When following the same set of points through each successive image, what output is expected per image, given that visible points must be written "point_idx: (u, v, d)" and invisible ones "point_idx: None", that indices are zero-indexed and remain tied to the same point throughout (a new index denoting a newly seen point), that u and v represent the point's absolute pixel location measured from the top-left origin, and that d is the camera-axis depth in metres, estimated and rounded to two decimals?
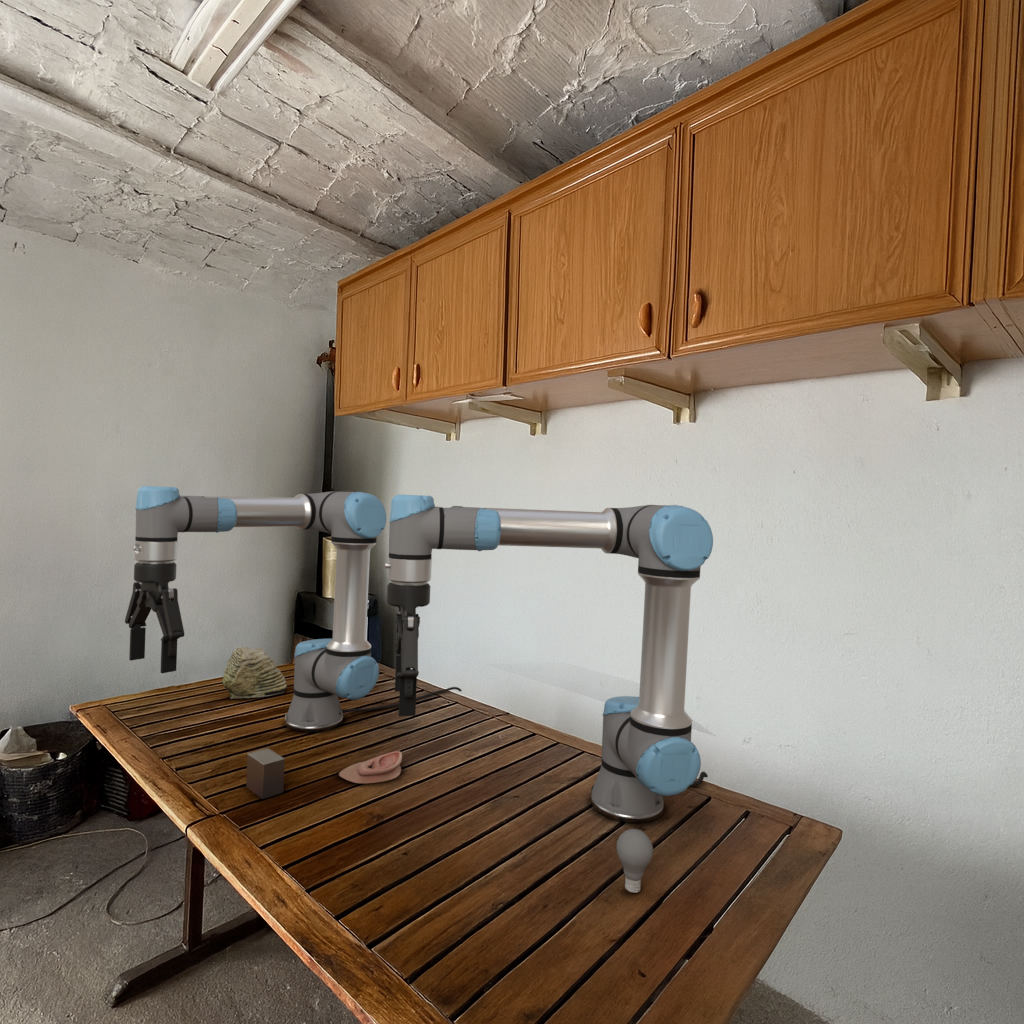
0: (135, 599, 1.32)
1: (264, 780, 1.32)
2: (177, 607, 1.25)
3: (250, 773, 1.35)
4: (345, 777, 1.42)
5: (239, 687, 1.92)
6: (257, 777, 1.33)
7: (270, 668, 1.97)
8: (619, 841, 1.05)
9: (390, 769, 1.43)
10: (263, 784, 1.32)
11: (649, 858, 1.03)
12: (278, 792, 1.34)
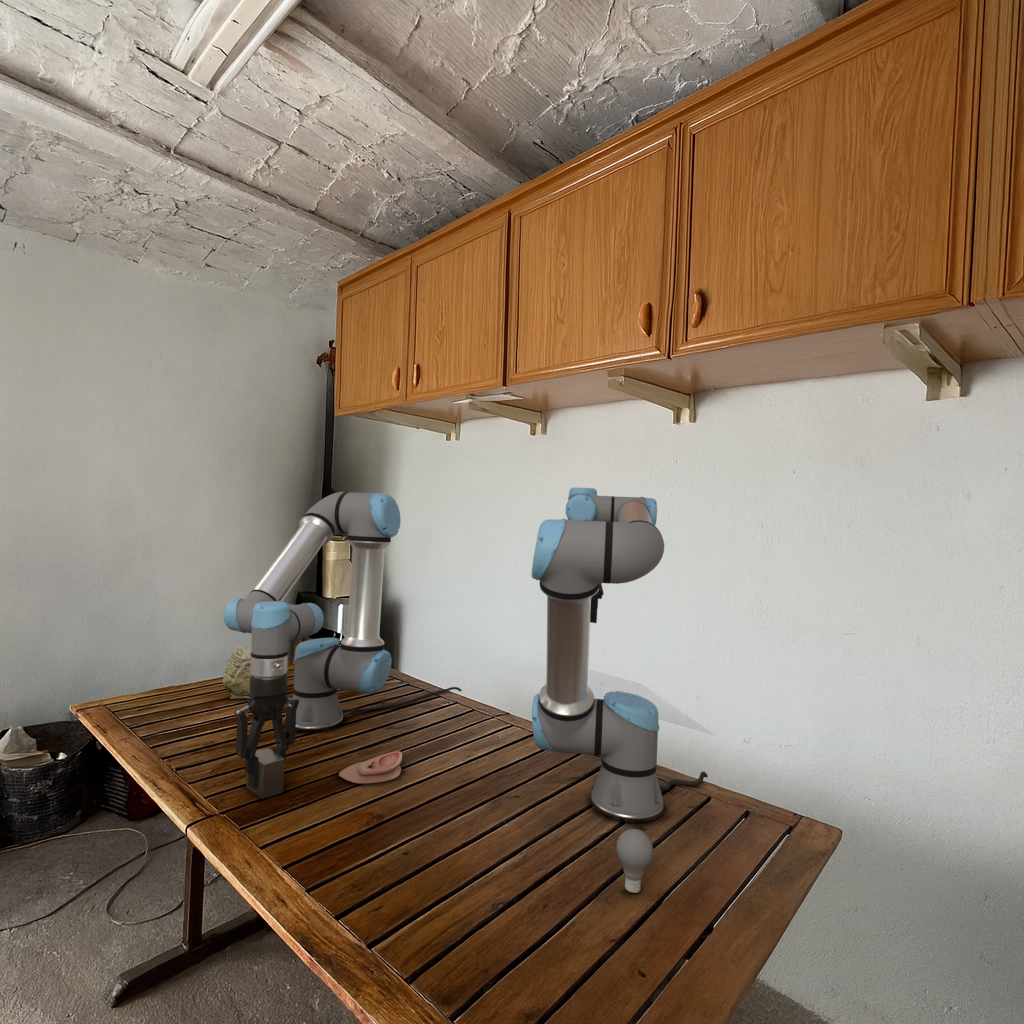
0: None
1: (264, 780, 1.32)
2: None
3: None
4: (345, 777, 1.42)
5: (239, 687, 1.92)
6: None
7: None
8: (619, 841, 1.05)
9: (390, 769, 1.43)
10: (263, 784, 1.32)
11: (649, 858, 1.03)
12: (278, 792, 1.34)
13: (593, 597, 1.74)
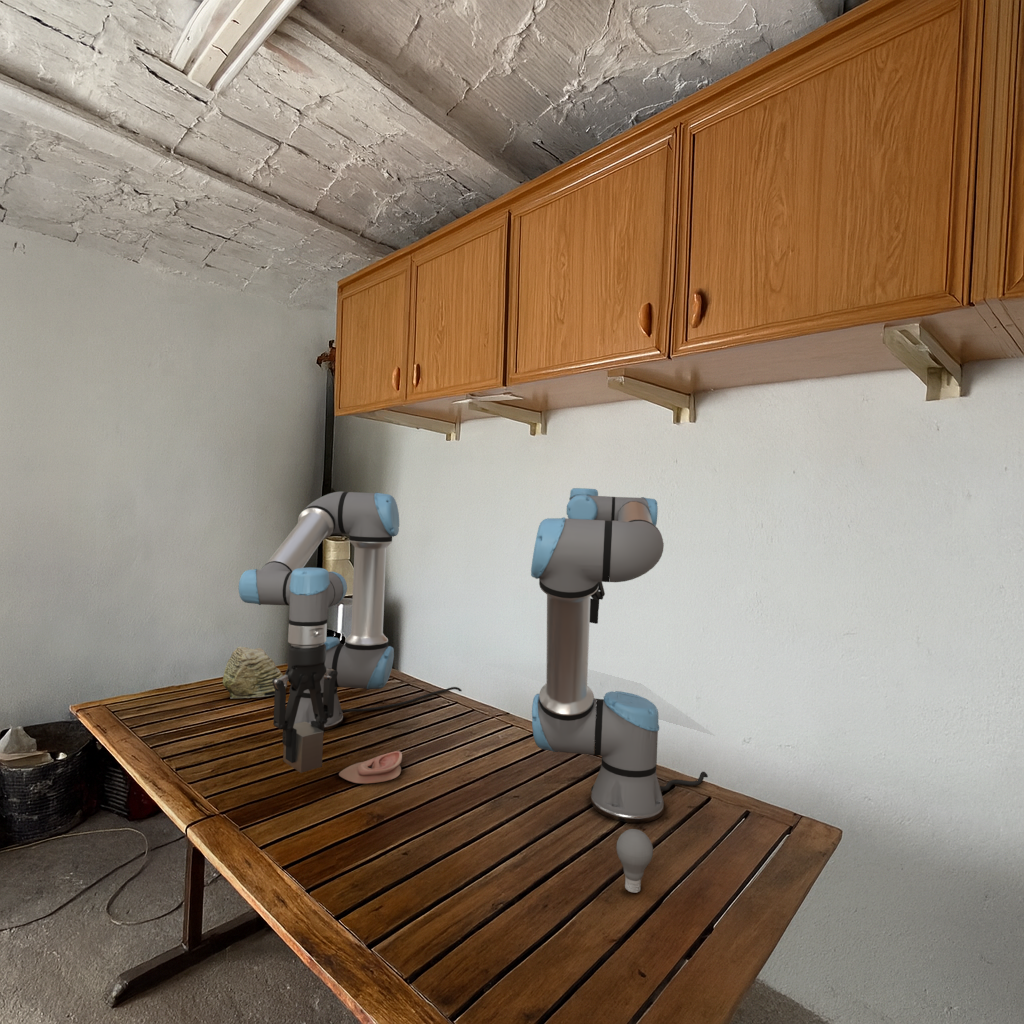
0: None
1: (302, 753, 1.26)
2: None
3: None
4: (345, 777, 1.42)
5: (239, 687, 1.92)
6: None
7: (270, 668, 1.97)
8: (619, 841, 1.05)
9: (390, 769, 1.43)
10: (301, 757, 1.26)
11: (649, 858, 1.03)
12: (317, 766, 1.28)
13: (594, 598, 1.74)
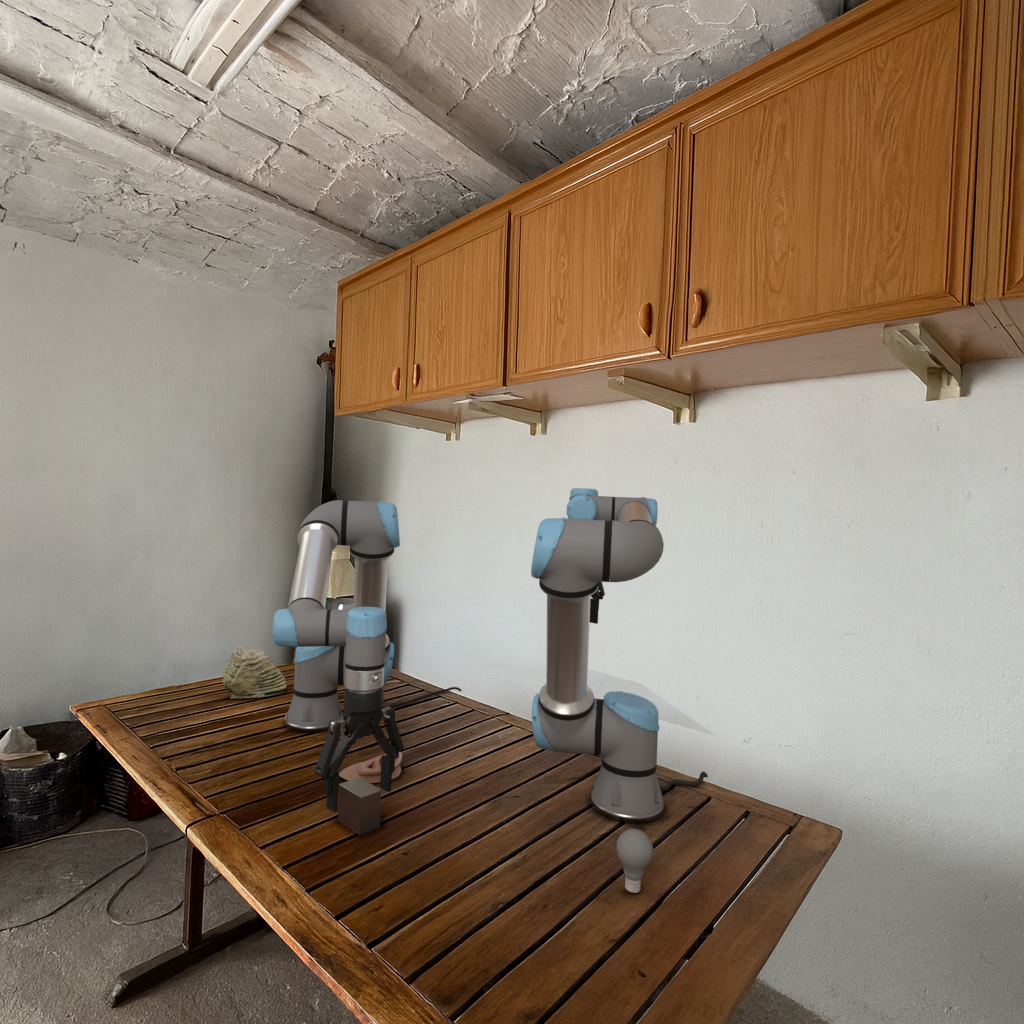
0: None
1: (361, 814, 1.19)
2: None
3: (343, 806, 1.23)
4: (345, 777, 1.42)
5: (239, 687, 1.92)
6: (353, 811, 1.21)
7: (270, 668, 1.97)
8: (619, 841, 1.05)
9: None
10: (360, 819, 1.19)
11: (649, 858, 1.03)
12: (375, 827, 1.22)
13: (594, 598, 1.74)
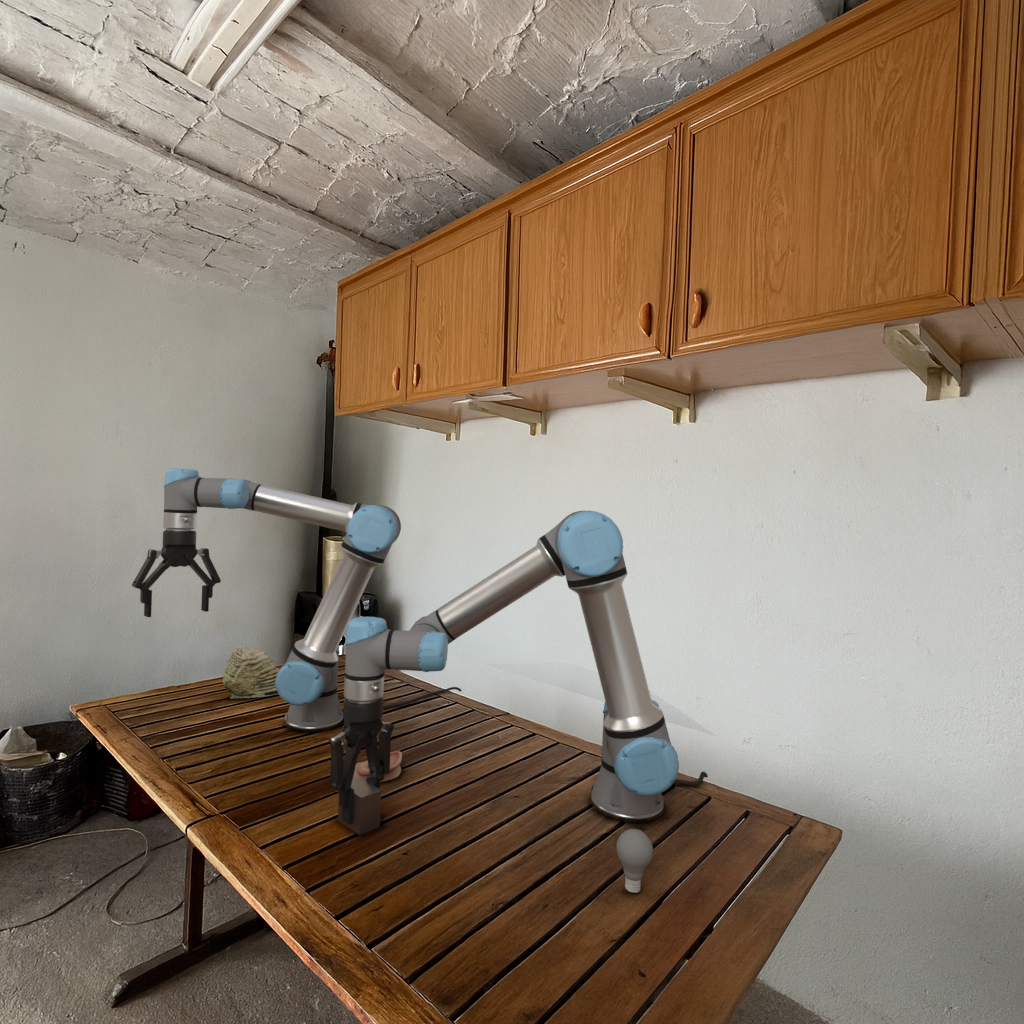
0: None
1: (361, 814, 1.19)
2: None
3: None
4: None
5: (239, 687, 1.92)
6: (353, 811, 1.21)
7: (270, 668, 1.97)
8: (619, 841, 1.05)
9: (390, 769, 1.43)
10: (360, 819, 1.19)
11: (649, 858, 1.03)
12: (375, 827, 1.22)
13: (373, 777, 1.26)
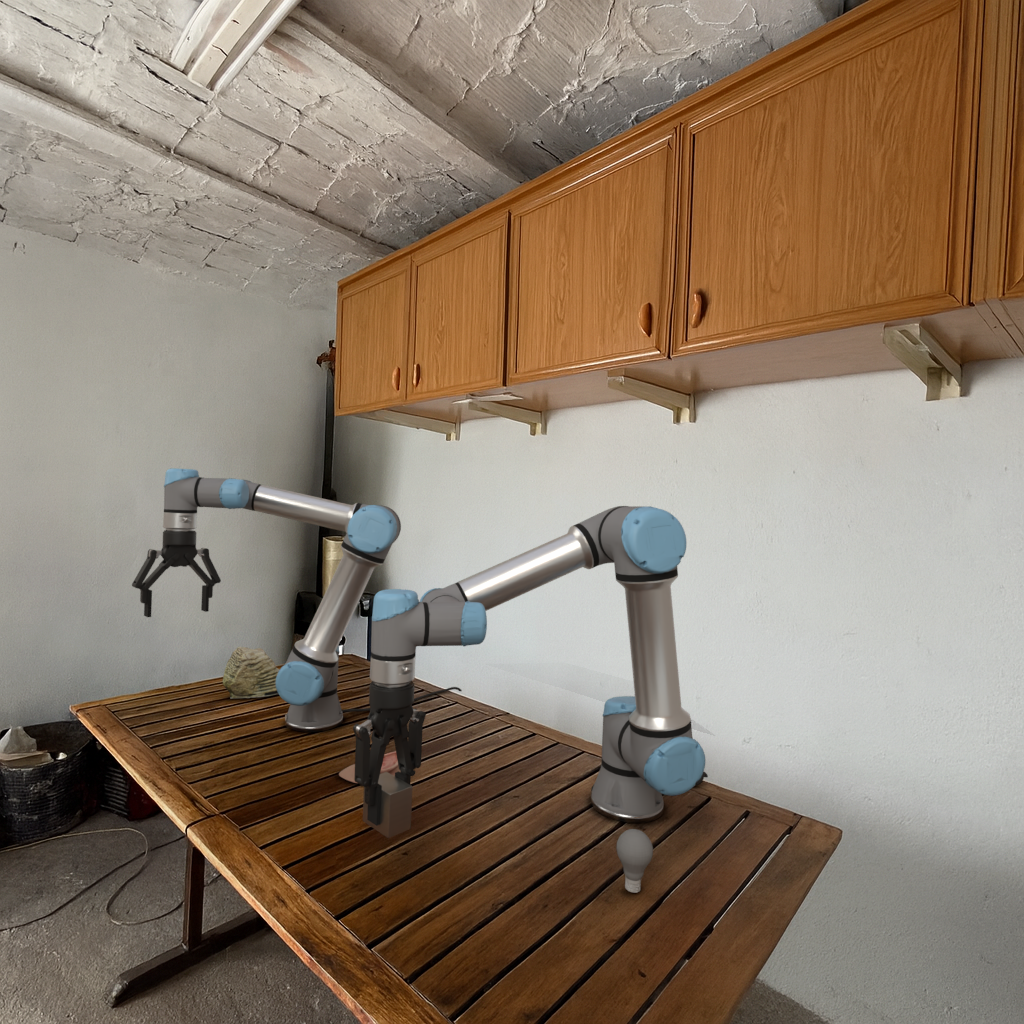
0: None
1: (390, 814, 1.04)
2: None
3: None
4: (345, 777, 1.42)
5: (239, 687, 1.92)
6: None
7: (270, 668, 1.97)
8: (619, 841, 1.05)
9: (390, 769, 1.43)
10: (389, 819, 1.04)
11: (649, 858, 1.03)
12: (405, 829, 1.07)
13: (402, 772, 1.10)
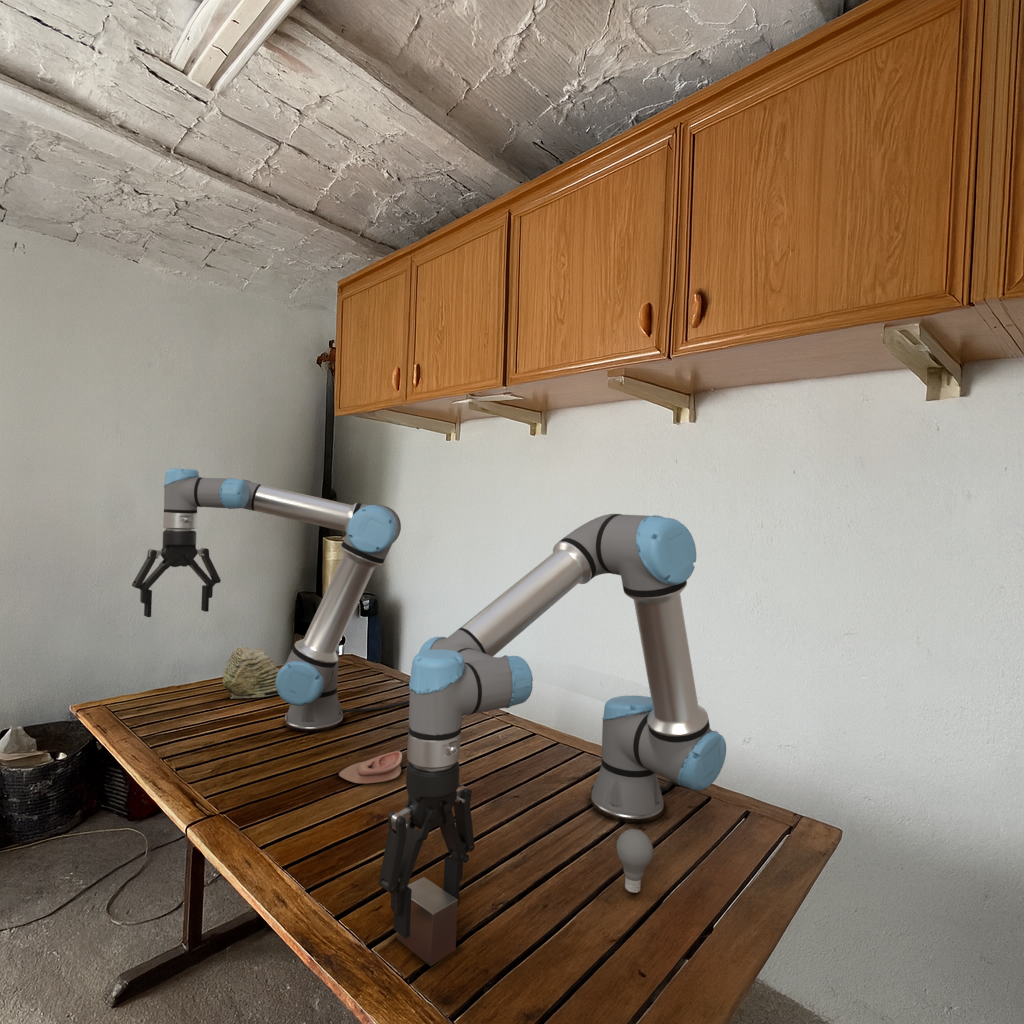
0: None
1: (433, 937, 0.87)
2: None
3: None
4: (345, 777, 1.42)
5: (239, 687, 1.92)
6: (420, 930, 0.88)
7: (270, 668, 1.97)
8: (619, 841, 1.05)
9: (390, 769, 1.43)
10: (432, 943, 0.87)
11: (649, 858, 1.03)
12: (449, 951, 0.89)
13: (454, 857, 0.94)
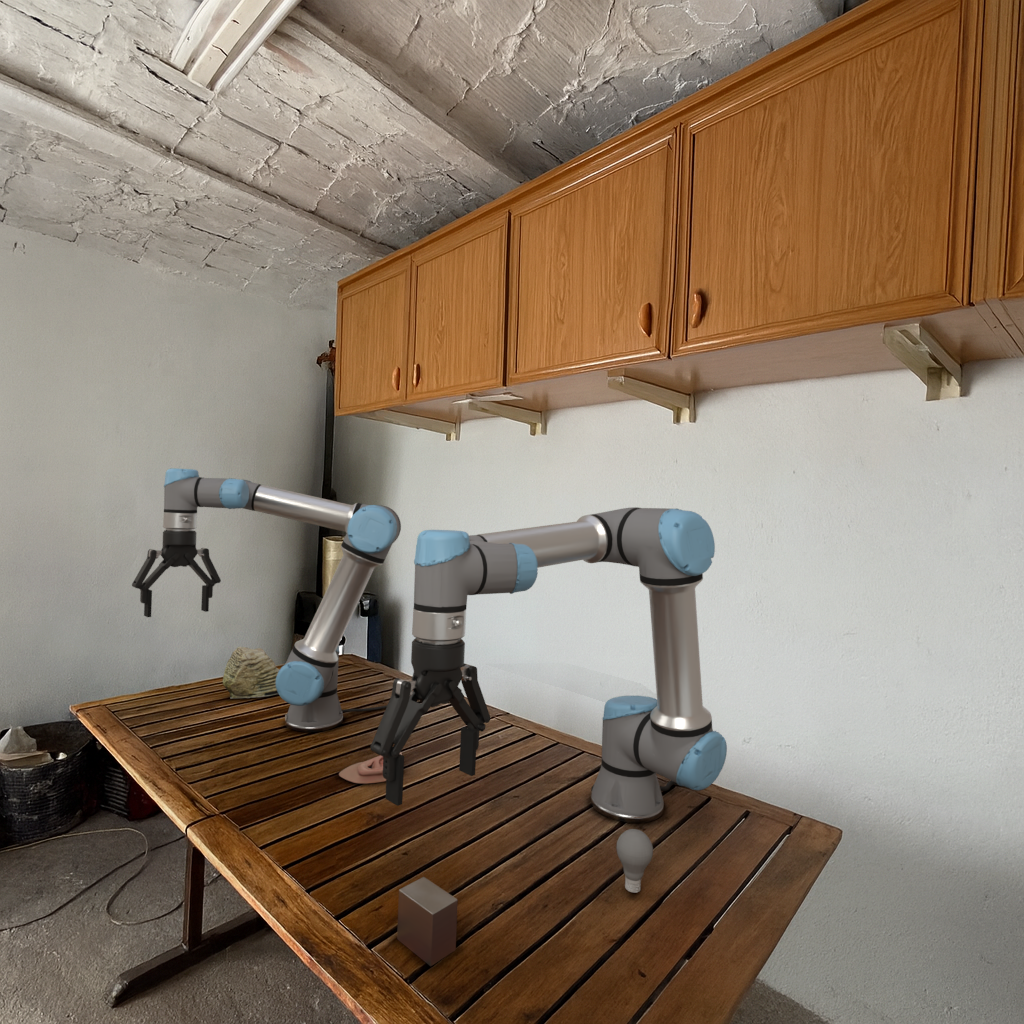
0: None
1: (433, 937, 0.87)
2: None
3: (405, 921, 0.91)
4: (345, 777, 1.42)
5: (239, 687, 1.92)
6: (420, 930, 0.88)
7: (270, 668, 1.97)
8: (619, 841, 1.05)
9: None
10: (432, 944, 0.87)
11: (649, 858, 1.03)
12: (449, 951, 0.89)
13: (470, 727, 0.96)
